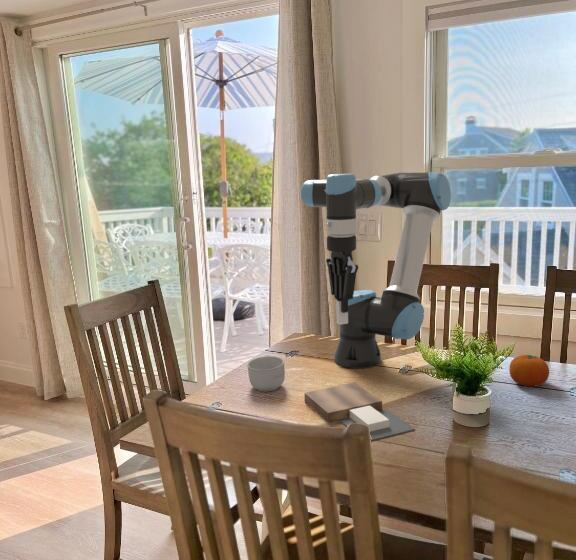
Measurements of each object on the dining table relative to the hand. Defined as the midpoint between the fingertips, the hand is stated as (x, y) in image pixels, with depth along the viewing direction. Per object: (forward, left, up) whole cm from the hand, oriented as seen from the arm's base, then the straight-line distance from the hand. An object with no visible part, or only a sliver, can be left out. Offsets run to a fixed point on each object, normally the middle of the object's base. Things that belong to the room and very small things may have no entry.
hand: (342, 323), depth 148 cm
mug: (-30, +16, -23) cm, 41 cm away
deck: (+1, +2, -22) cm, 22 cm away
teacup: (+14, -20, -23) cm, 33 cm away
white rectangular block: (0, +14, -22) cm, 26 cm away
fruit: (-54, +13, -23) cm, 60 cm away
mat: (-1, +16, -22) cm, 28 cm away
